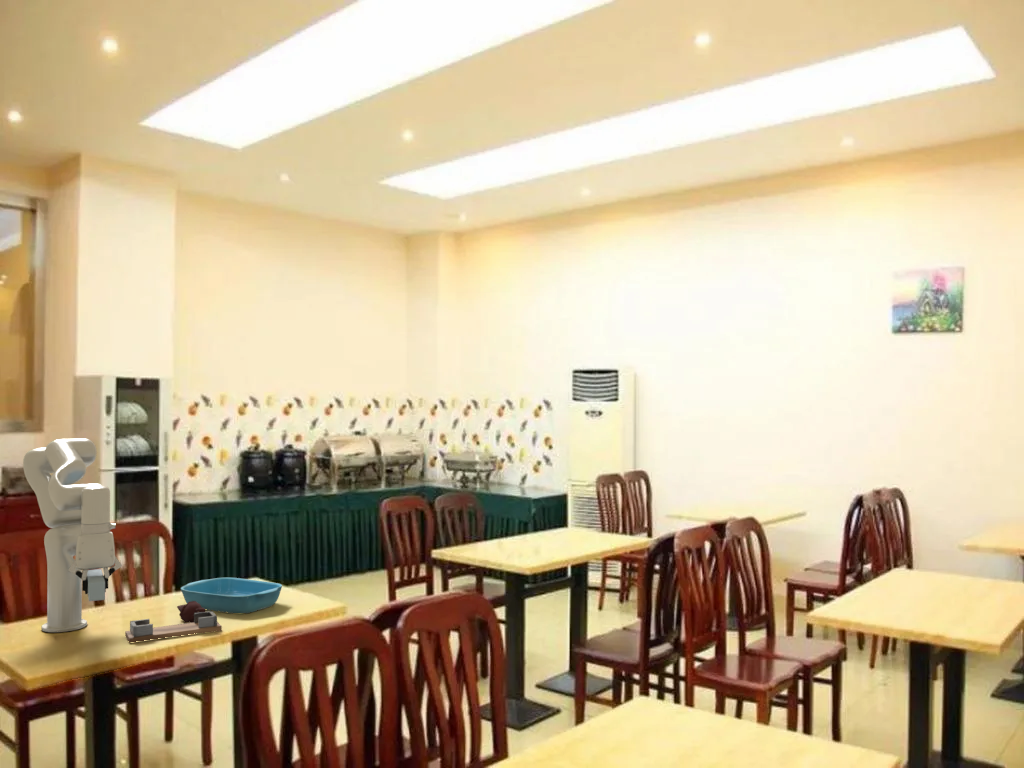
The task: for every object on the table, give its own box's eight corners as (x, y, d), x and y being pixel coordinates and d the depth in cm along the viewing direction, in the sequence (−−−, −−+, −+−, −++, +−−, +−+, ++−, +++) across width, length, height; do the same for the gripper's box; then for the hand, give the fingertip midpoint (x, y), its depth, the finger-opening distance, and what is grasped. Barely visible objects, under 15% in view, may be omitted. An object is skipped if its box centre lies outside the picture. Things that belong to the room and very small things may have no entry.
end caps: (130, 631, 256) (130, 621, 256) (211, 620, 268) (211, 610, 268) (133, 637, 249) (133, 626, 249) (217, 626, 262) (217, 616, 262)
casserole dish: (167, 607, 293) (167, 586, 293) (218, 593, 312) (218, 574, 312) (246, 620, 275) (247, 597, 275) (295, 605, 295) (295, 584, 295)
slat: (89, 601, 238) (89, 583, 238) (86, 587, 256) (86, 570, 256) (104, 599, 240) (105, 581, 240) (100, 585, 258) (101, 569, 258)
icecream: (165, 601, 273) (193, 612, 264) (185, 591, 278) (213, 602, 270) (169, 621, 274) (196, 633, 265) (189, 611, 280) (217, 622, 271)
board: (125, 636, 256) (125, 631, 256) (215, 624, 269) (215, 619, 269) (129, 643, 248) (129, 638, 248) (221, 630, 262) (221, 626, 262)
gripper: (126, 525, 255) (125, 586, 255) (62, 529, 247) (62, 592, 247) (128, 528, 249) (127, 591, 249) (63, 533, 241) (62, 598, 241)
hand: (95, 591), depth 248 cm, fingers closed on slat, 4 cm apart
